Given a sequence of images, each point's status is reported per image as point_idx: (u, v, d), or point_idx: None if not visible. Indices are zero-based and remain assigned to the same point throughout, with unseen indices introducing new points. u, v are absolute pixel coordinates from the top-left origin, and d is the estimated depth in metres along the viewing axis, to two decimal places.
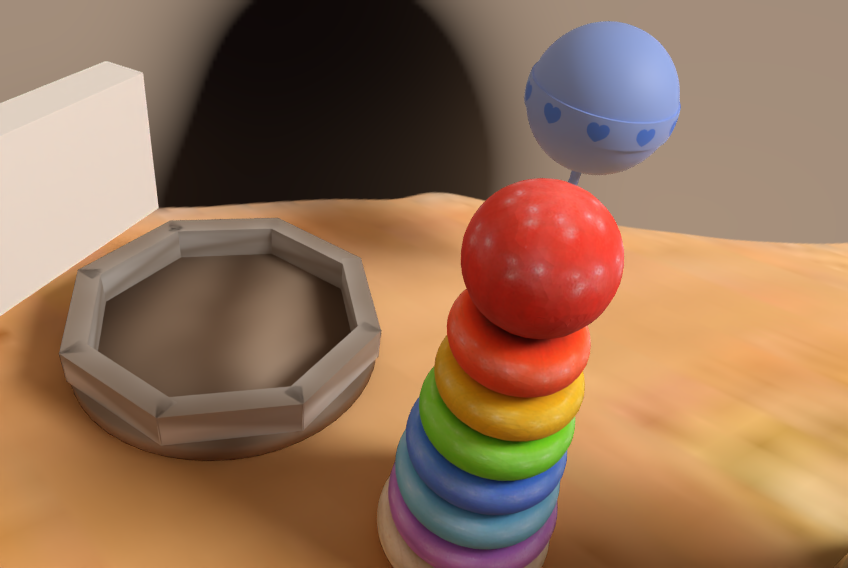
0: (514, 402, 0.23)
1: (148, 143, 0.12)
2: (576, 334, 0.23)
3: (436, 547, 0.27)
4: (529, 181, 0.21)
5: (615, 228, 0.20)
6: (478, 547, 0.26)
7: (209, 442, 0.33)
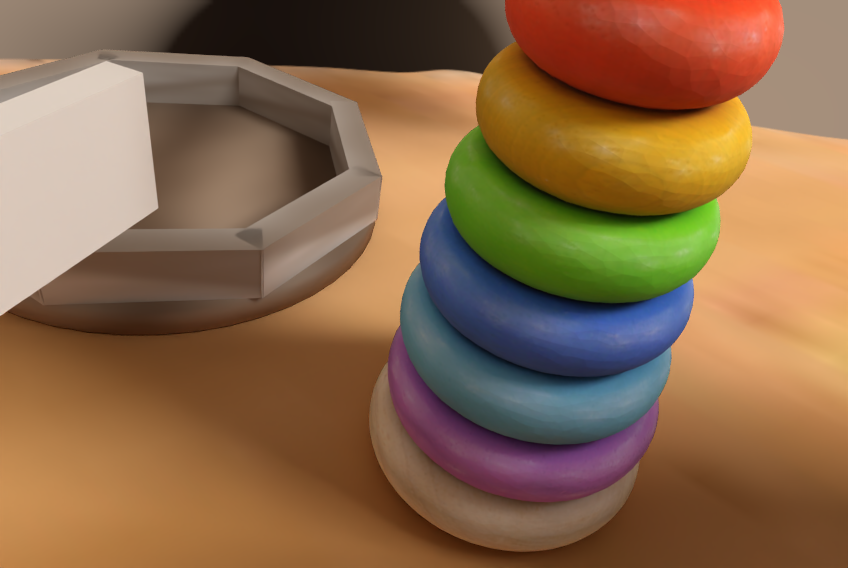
0: (638, 123, 0.12)
1: (148, 143, 0.12)
2: None
3: (468, 443, 0.16)
4: None
5: None
6: (542, 437, 0.15)
7: (119, 304, 0.22)
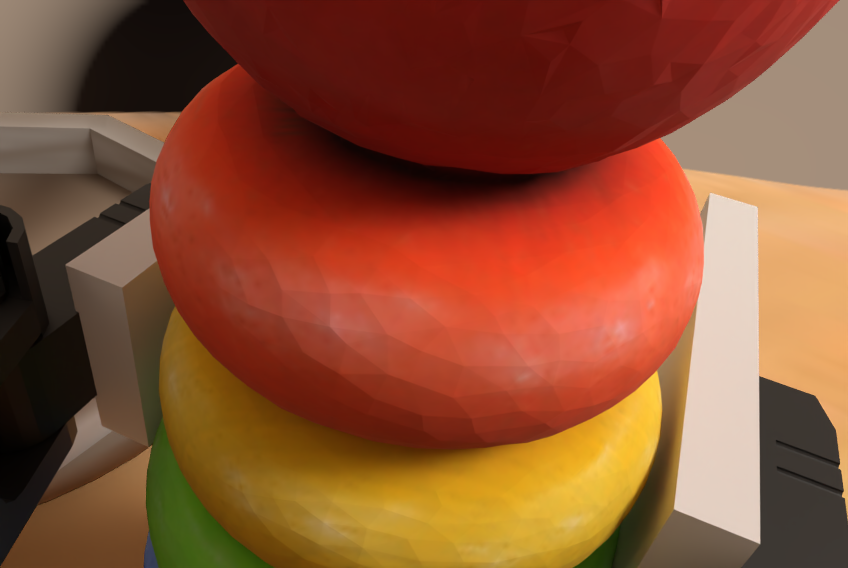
0: (400, 466, 0.06)
1: None
2: (658, 188, 0.05)
3: None
4: None
5: None
6: None
7: None
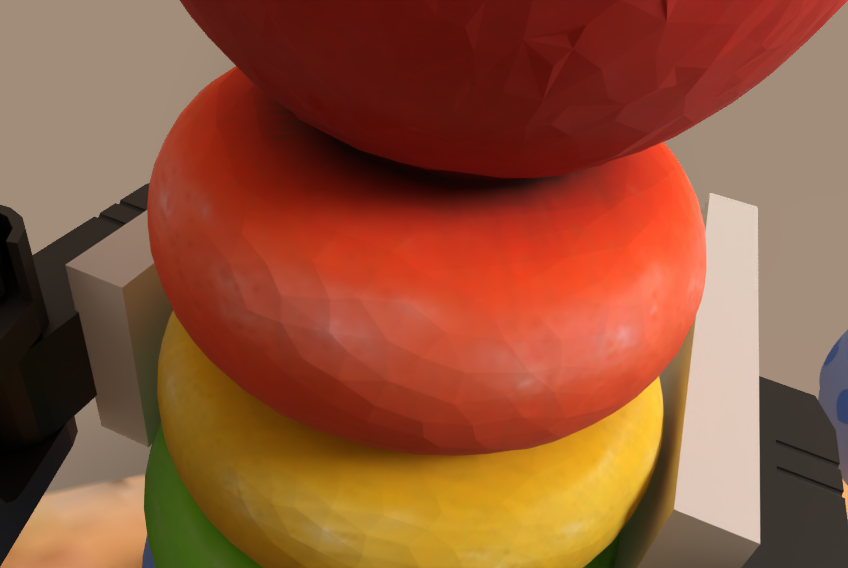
0: (400, 473, 0.06)
1: None
2: (659, 191, 0.05)
3: None
4: None
5: None
6: None
7: None
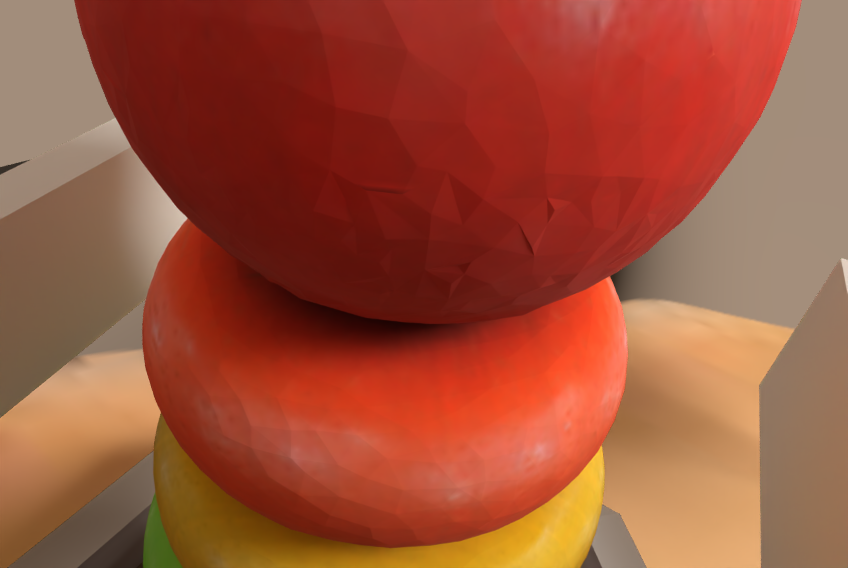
0: (361, 555, 0.06)
1: None
2: (580, 314, 0.06)
3: None
4: None
5: None
6: None
7: None
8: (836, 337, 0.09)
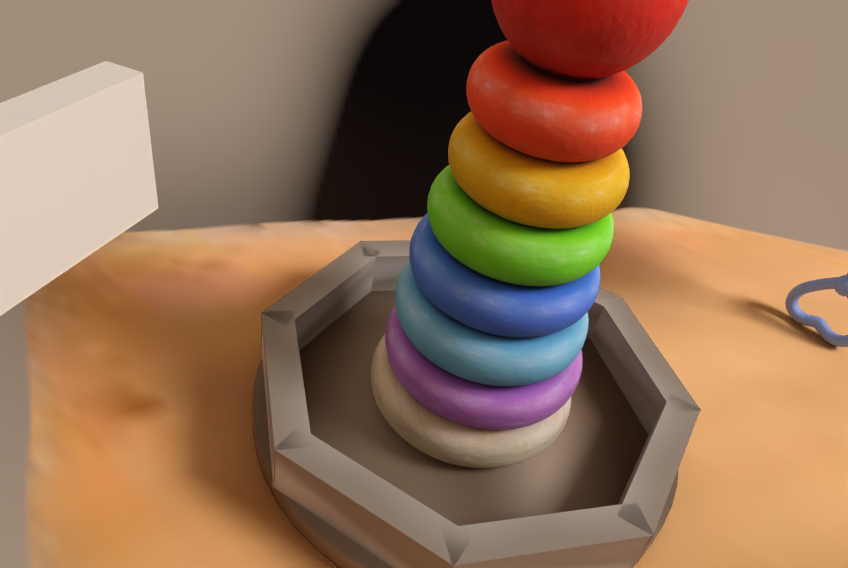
0: (549, 170, 0.19)
1: (148, 142, 0.12)
2: (627, 86, 0.19)
3: (443, 386, 0.23)
4: None
5: None
6: (494, 380, 0.22)
7: None
8: None
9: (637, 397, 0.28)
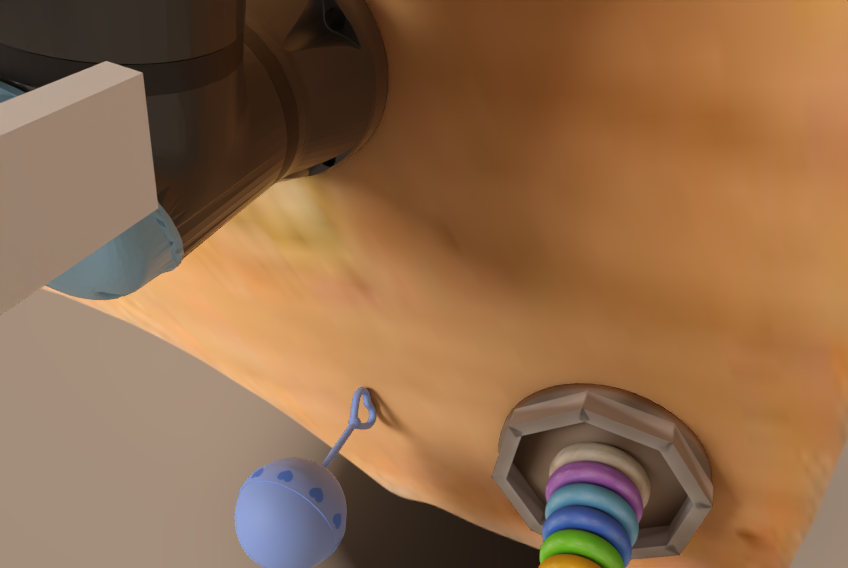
0: None
1: (148, 142, 0.12)
2: None
3: (633, 499, 0.51)
4: None
5: None
6: (617, 497, 0.50)
7: (645, 411, 0.51)
8: None
9: None
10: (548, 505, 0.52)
